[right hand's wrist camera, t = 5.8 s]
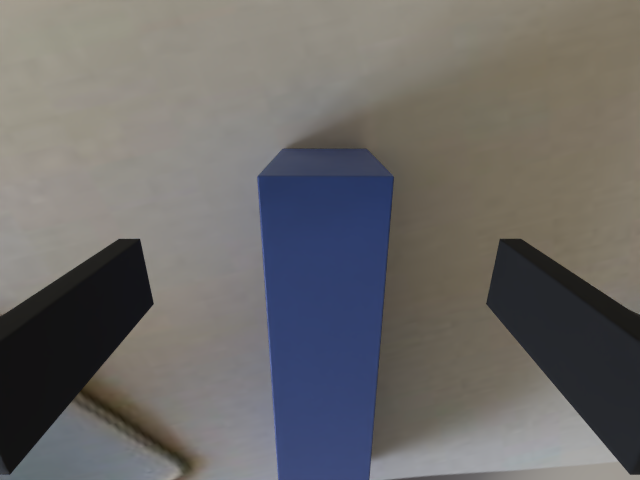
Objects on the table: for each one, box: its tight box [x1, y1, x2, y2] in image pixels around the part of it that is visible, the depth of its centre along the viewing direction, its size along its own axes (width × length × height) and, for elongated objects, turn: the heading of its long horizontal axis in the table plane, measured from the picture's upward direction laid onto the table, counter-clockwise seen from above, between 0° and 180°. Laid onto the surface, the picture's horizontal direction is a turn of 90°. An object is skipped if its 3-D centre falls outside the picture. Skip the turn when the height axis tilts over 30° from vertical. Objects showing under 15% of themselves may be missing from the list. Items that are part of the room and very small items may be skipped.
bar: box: [257, 149, 394, 480], centre depth 23 cm, size 30×5×9 cm, turn 0°
